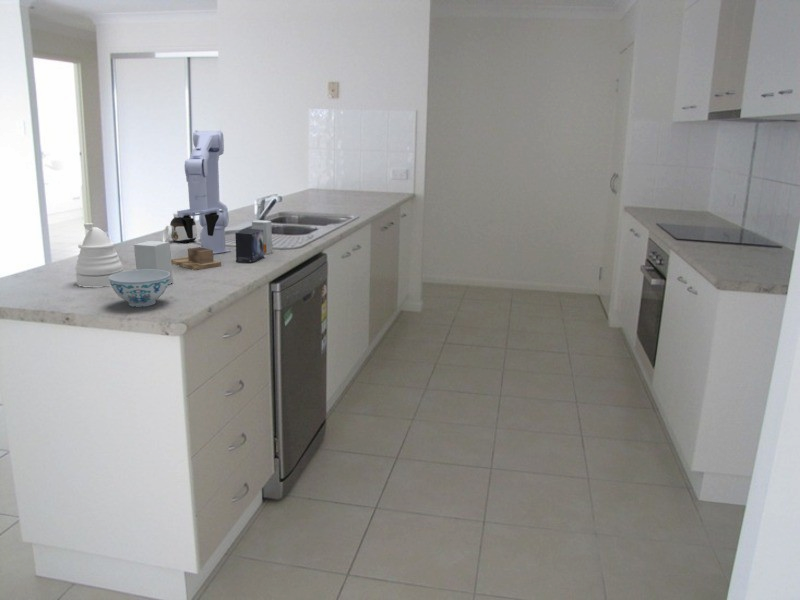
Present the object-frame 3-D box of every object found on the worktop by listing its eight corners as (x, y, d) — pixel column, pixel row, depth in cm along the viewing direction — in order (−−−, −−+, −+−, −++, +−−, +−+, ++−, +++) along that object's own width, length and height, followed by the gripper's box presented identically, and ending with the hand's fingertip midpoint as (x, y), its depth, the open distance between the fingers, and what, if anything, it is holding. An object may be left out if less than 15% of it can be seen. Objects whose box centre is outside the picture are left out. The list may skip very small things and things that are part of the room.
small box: (253, 263, 228) (251, 233, 226) (235, 262, 230) (234, 232, 227) (265, 257, 238) (264, 228, 236) (248, 256, 240) (246, 228, 237)
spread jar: (200, 241, 268) (198, 213, 265) (177, 245, 259) (175, 216, 256) (180, 238, 274) (178, 210, 271) (157, 242, 265) (155, 213, 262)
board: (169, 263, 227) (168, 259, 227) (195, 259, 234) (195, 255, 234) (194, 270, 217) (194, 266, 216) (220, 265, 224) (220, 262, 223)
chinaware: (129, 295, 184) (126, 268, 182) (181, 297, 183) (179, 270, 181) (100, 309, 170) (97, 280, 168) (156, 312, 168) (154, 282, 166)
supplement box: (174, 283, 199) (171, 241, 195) (157, 288, 192) (154, 245, 189) (153, 281, 201) (150, 240, 198) (136, 286, 194) (133, 243, 191)
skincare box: (252, 253, 246) (251, 221, 243) (258, 251, 250) (256, 219, 247) (267, 254, 244) (266, 222, 241) (272, 252, 248) (271, 220, 245)
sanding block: (188, 261, 223) (187, 248, 222) (200, 259, 227) (199, 247, 226) (201, 265, 218) (200, 251, 217) (213, 263, 222) (212, 250, 220)
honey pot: (94, 289, 190) (87, 227, 185) (68, 283, 196) (60, 223, 192) (133, 281, 200) (127, 222, 196) (106, 276, 207) (100, 218, 202)
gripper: (184, 198, 209) (187, 240, 213) (223, 195, 220) (226, 235, 223) (172, 196, 214) (175, 238, 218) (211, 193, 224) (214, 233, 228)
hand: (200, 236), depth 221 cm, fingers open, 7 cm apart
